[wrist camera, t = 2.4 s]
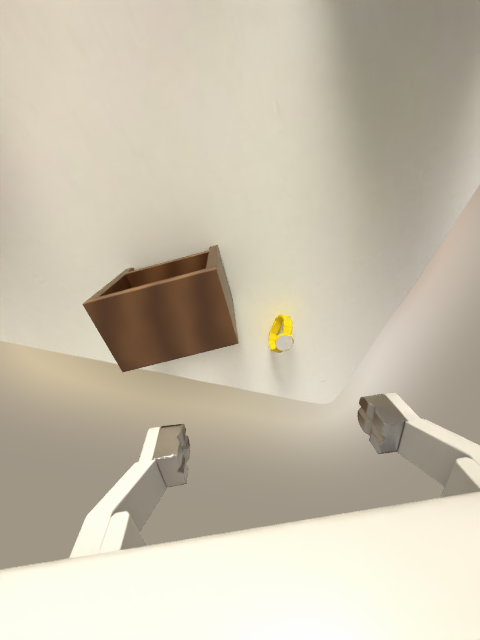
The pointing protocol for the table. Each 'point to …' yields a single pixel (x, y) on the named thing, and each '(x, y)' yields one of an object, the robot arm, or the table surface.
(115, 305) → the box
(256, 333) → the table surface
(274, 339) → the watch
